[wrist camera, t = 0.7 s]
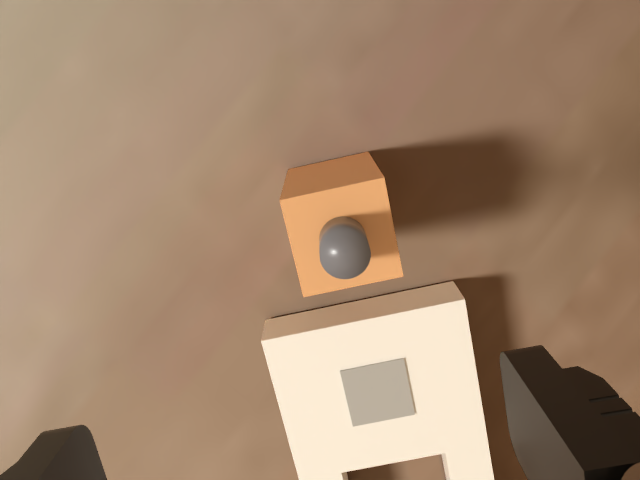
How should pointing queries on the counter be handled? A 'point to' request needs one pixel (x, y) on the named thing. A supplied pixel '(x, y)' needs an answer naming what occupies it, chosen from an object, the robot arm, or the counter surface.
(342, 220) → the block
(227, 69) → the counter surface
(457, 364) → the power strip
